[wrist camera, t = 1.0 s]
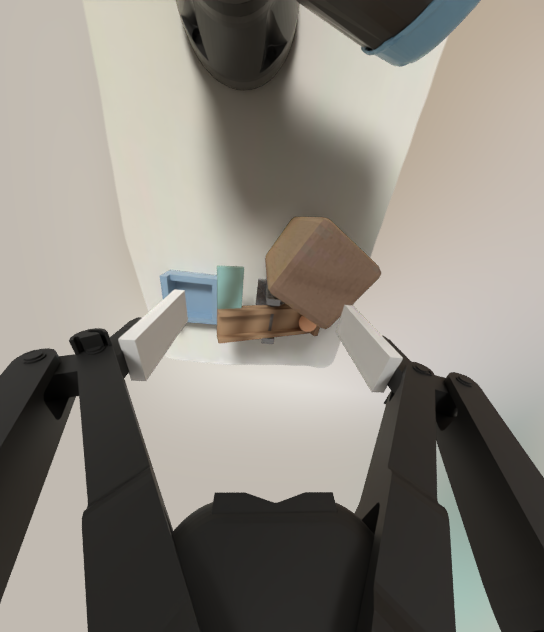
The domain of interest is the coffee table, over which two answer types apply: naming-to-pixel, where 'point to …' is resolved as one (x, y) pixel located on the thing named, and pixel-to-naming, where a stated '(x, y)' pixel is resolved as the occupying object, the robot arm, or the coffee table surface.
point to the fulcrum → (266, 301)
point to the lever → (250, 312)
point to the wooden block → (318, 269)
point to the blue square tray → (194, 293)
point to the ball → (306, 324)
